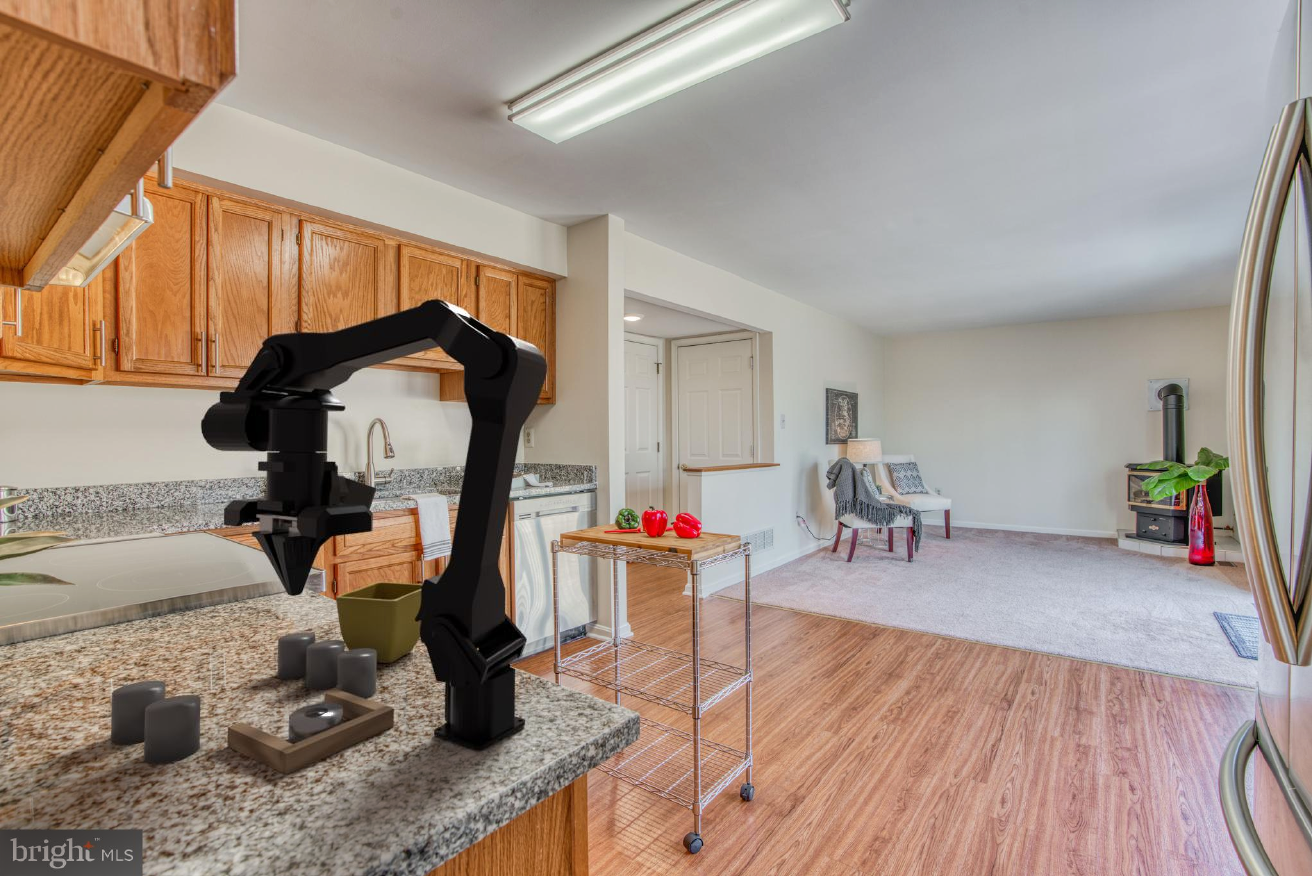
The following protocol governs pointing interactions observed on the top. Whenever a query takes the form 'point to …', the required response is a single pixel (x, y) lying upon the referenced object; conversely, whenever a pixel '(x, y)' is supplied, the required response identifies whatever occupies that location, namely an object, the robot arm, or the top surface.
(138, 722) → the spacers
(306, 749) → the corral
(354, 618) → the flower pot
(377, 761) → the top surface
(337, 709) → the grey metallic short cylinder
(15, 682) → the top surface
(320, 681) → the spacers
